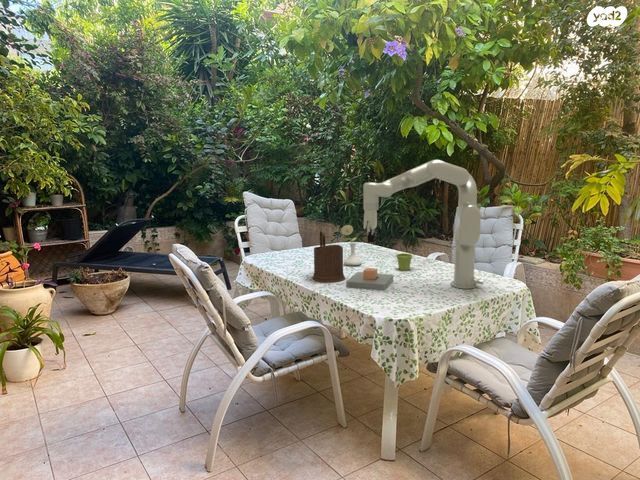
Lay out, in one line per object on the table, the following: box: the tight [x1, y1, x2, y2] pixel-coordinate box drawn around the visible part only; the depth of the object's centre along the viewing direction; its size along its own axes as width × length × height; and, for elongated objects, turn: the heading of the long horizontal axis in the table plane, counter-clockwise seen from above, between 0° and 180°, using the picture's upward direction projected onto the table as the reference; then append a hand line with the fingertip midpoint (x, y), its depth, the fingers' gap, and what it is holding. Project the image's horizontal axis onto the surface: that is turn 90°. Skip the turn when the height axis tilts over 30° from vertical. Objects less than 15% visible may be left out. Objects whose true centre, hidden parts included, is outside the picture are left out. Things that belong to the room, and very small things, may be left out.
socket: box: [345, 271, 394, 291], centre depth 233 cm, size 20×20×3 cm
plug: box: [362, 267, 378, 280], centre depth 232 cm, size 6×6×7 cm
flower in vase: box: [340, 224, 363, 267], centre depth 273 cm, size 13×11×25 cm
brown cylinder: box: [312, 230, 346, 284], centre depth 245 cm, size 18×24×25 cm
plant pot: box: [396, 253, 413, 272], centre depth 260 cm, size 9×9×9 cm
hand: (370, 242), depth 229 cm, fingers closed
